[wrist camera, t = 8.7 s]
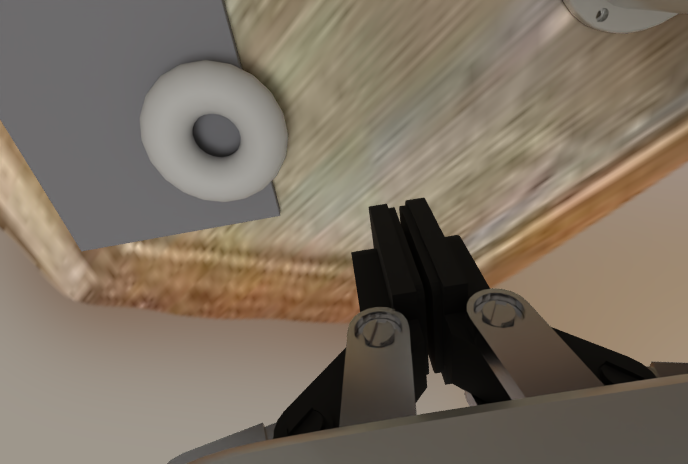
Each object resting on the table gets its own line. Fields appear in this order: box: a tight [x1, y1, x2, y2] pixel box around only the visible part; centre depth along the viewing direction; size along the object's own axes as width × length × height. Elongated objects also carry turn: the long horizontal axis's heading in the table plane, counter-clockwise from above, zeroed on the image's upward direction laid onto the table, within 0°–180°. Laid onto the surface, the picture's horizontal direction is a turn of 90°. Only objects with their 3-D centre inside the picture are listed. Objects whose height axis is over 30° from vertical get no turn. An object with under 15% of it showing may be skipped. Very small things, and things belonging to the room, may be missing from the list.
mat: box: [0, 0, 280, 251], centre depth 30 cm, size 17×18×1 cm
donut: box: [140, 60, 288, 202], centre depth 28 cm, size 10×4×10 cm
